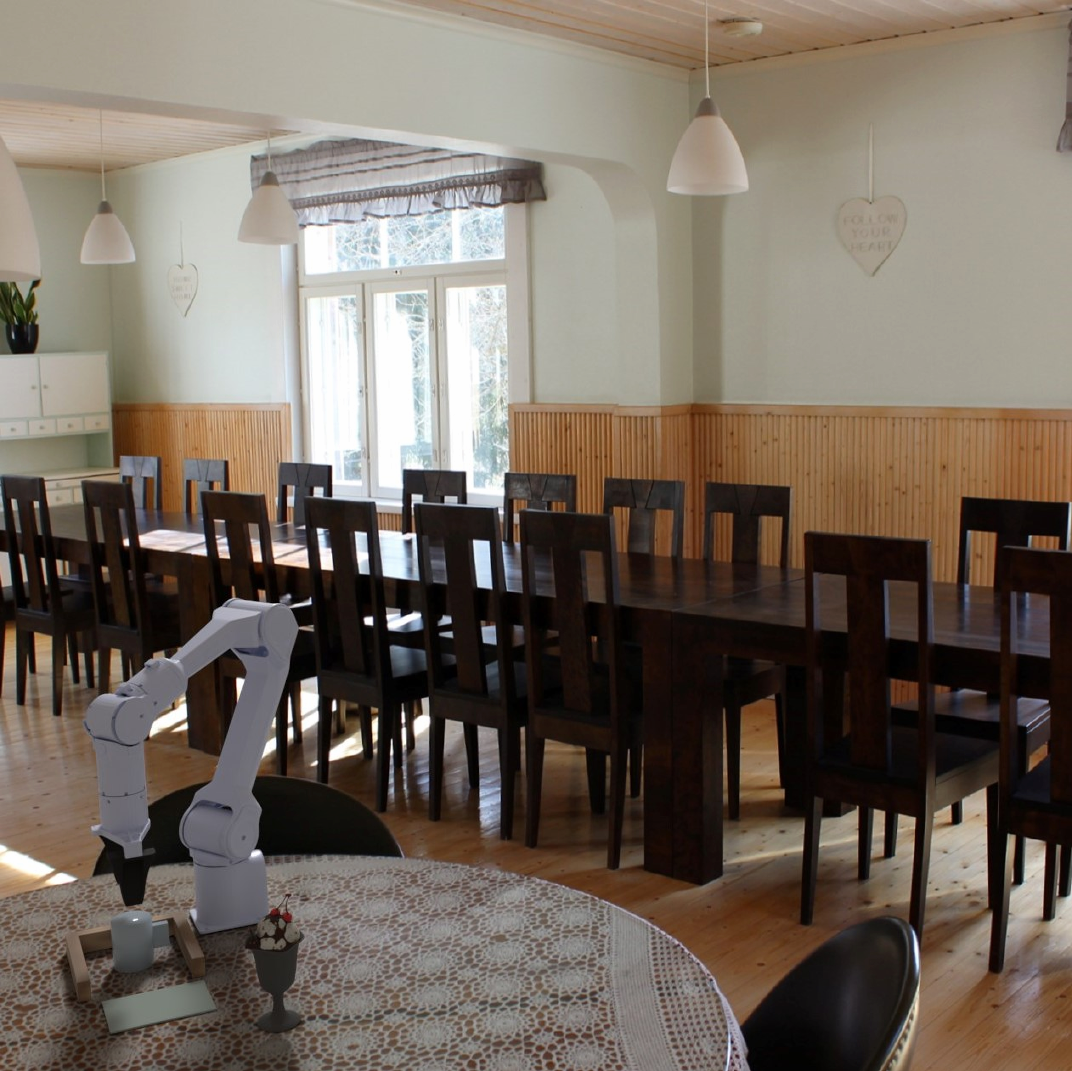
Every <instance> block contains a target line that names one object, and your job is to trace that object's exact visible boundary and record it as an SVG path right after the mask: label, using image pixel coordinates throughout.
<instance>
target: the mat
mask: <svg viewBox="0 0 1072 1071" xmlns="http://www.w3.org/2000/svg"><path fill="white" fill-rule="evenodd" d="M101 1005H102V1008H103V1013H104V1016H105V1020H106V1023H107V1026H108V1030H109V1034H110V1035H112V1034H117V1033H121V1032H126V1031H131V1030H134V1029H135V1030H136V1029H140V1028H143V1027H147V1026H148V1027H149V1026H151V1025H156V1024H162V1023H166V1022H169V1021H176V1020H179V1019H183V1018H188V1017H192V1016H197V1015H200V1014H206V1013H209V1012H213V1011H217V1009H218V1008H217V1006H216V1004H215V1001H214V999H213V997H212V995H211V992H210V991H209V989H208V986H207V984H206V982H205V980H204V979H201V980H195V981H191V982H187V983H186V982H185V983H182V984H177V985H172V986H168V987H165V988H164V987H163V988H160V989H154V990H150V991H145V992H141V993H137V994H136V993H135V994H132V995H127V996H122V997H118V998H112V999H108V1000H103V1001H101Z"/></svg>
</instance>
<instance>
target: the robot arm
mask: <svg viewBox="0 0 1072 1071" xmlns="http://www.w3.org/2000/svg"><path fill="white" fill-rule="evenodd" d="M299 630H300V628H299V625H298V622H297V620H296V617H295V615H294V613H293V611H292V609H291V608H290V607H289V606H288V605H287V604H284V603H270V602H263V601H262V602H261V601H254V600H244V599H242V598H239V597H233V598H230V599H228V600H227V601H225V602H224V603H223V604H222V606H220V607H217V608H216V609H214V610H213V613H212V618H211V620H210V621H209V622H208V623H207V624H206V625H205V626H204V627H202V629H200V630H199V631H198V632H197V633H196V634H195V635H194V636H193V637H192V638H191V639H190V640H188V641H187V642H186V643H185V645H183V646H182V647H181V648H180V649H179V650H178V651H176V653H175V654H174V655H172V656H171V657H170V658H166V657H156V658H150V659H148V660H147V661H146V662H144V664H143V665H144V668H142V670H140V671H139V672H137V673H136V674H135V675H134V676H132V677H131V678H130V679H129V680H128V681H126V682H121V683H120V684H119V685H118V686H117V689H116V690H115V691H114V692H113V693H104V694H101V695H99V696H97V697H96V698H94V699H93V701H92V702H91V703H90V704H89V706H88V708H87V710H86V713H85V719H83V720H82V721H81V722H82V728H83V729H84V732H85V733H86V735H87V736H88V737H89V738H90V739H91V742H92V743H91V744H92V750H94V752H95V762H96V763H95V764H96V774H97V775H96V777H97V792H98V801H99V802H98V805H99V818H100V820H99V821H100V824H96V825H91V827H90V833H91V835H92V836H93V837H96V836H98V837H99V838H100V840H101V841H102V842H103V845H104V846H105V848H106V851H107V852H106V853H105V854H106V855H105V856H106V858H107V861H108V863H109V865H110V866H111V869H112V873H113V877H114V879H115V882H116V885H118V886H119V891H120V894H121V898H122V900H123V903H124V906H125V907H126V908H127V907H134V906H138V905H142V904H143V903H144V900H145V899H144V898H145V894H146V888H147V887H146V886H147V882H148V881H147V880H148V875H149V872H150V868H151V866H152V863H153V861H155V860H154V859H155V857H156V849H155V848H154V847H151V848H145V849H144V848H143V844H142V842H143V840H144V838H145V837H146V835H147V833H149V832H148V831H149V830H150V828H151V819H150V818H149V809H148V808H149V807H148V805H149V804H148V794H147V793H148V790H147V778H146V765H145V764H146V762H145V746H144V740H146V739H147V738H148V736H149V734H150V732H151V729H152V728H153V724H154V722H155V721H156V720H157V719H158V716H159V715H160V714H161V713H162V712H164V711H165V710H166V709H167V708H168V707H169V706H171V705H172V704H173V703H175V701H177V700H178V699H179V698H180V697H182V695H183V694H185V693H186V692H187V690H188V681H189V678H190V677H192V676H193V675H195V674H197V672H199V671H201V670H202V669H203V668H204V667H206V666H208V665H209V664H210V663H212V662H213V661H215V660H216V659H218V657H220V656H221V655H223V654H224V653H225V652H227V651H228V650H229V649H230V650H231V651H232V652H233V653H234V654H235V655H236V656H237V658H238V659H239V660H240V661H241V662H242V664H243V666H244V669H245V670H246V675H245V677H244V680H243V684H242V687H241V690H240V693H239V696H238V699H237V703H236V705H235V709H234V711H233V715H232V718H231V721H230V724H229V728H228V732H227V733H226V737H225V740H224V744H223V746H222V750H221V753H220V755H219V760H218V762H217V765H216V768H215V771H214V774H213V777H212V780H211V782H209V783H208V784H206V785H205V786H203V787H201V788H200V789H198V790H197V791H196V792H195V794H194V796H193V799H192V801H191V804H190V806H189V807H188V808H187V809H186V811H185V812H184V814H183V815H182V818H181V819H180V822H179V830H178V833H179V834H178V835H179V839H180V841H181V843H182V844H183V845H184V846H185V847H186V848H187V849H188V850H189V857H192V859H193V861H192V862H193V875H194V896H195V908H191V909H190V910H189V915H190V917H191V919H192V921H193V923H194V926H195V927H196V930H197V931H198V934H200V935H205V934H210V933H216V932H219V931H220V932H221V931H226V930H230V929H231V930H232V929H235V928H240V927H246V926H251V925H255V924H256V925H257V924H258V923H259V922H260V921H261V919H262V918H263V917H264V916H266V915H268V914H270V913H269V912H270V911H269V895H268V894H269V893H268V878H267V876H268V875H267V868H266V861H265V857H264V855H263V854H264V853H263V852H262V850H261V849H255V848H256V846H257V844H258V840H259V836H260V834H259V833H260V830H259V829H260V828H259V827H260V826H259V823H260V817H261V815H262V811H263V809H262V807H261V806H260V804H259V802H258V801H257V799H256V797H255V796H254V795H253V792H252V790H253V788H254V784H255V780H256V778H257V774H258V771H259V767H260V765H261V761H262V758H263V756H264V752H265V748H266V745H267V743H268V738H269V735H270V732H271V728H272V726H273V723H274V719H275V716H276V713H277V709H278V707H279V704H280V701H281V698H282V694H283V690H284V688H285V684H286V680H287V678H288V675H289V670H290V664H291V663H290V661H291V656H292V652H293V648H294V645H295V643H296V639H297V636H298V632H299ZM222 807H229V808H231V810H230V809H224V808H222Z"/></svg>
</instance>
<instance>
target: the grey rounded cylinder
mask: <svg viewBox="0 0 1072 1071" xmlns="http://www.w3.org/2000/svg"><path fill="white" fill-rule="evenodd" d="M152 917H153V915H152V913H151V912H149V911H146V910H129V911H125V912H122V913H119V914H117V915H114V916H113V917H112V918H111V919H110V925H111V935H112V948H111V949H112V960H113V969H114V970H115V971H116V972H118V973H122V974H132V973H133V974H134V973H138V972H142V971H145V970H147V969H149V968H151V967H152V966H153V965H155V961H156V960H155V959H156V958H155V949H158V948H163V947H167V946H169V947H170V945H171V944H170V936H169V928H168V922H167V920H165V921H160V922H155V923H152Z"/></svg>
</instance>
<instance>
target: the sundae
mask: <svg viewBox="0 0 1072 1071" xmlns="http://www.w3.org/2000/svg"><path fill="white" fill-rule="evenodd" d="M290 897H292V893H285V896H284V898H283V900H282V901H281V903H280V904H279V905H278V906H277V907H274V908H272V909H271V910H270V911H269V912H270V913H269V914H268V915H266V916H264V917H263V918H262V919H261V921H260V922H259V923H257V927H256V931H253V929H252V928H251V927H250V926H247V931H248V933H249V934H248V936H246V939H245V943H244V949H245V950H249V951H251V952H252V955H253V959H254V965H255V969H256V976H257V979H258V984H259V986H260V988H261V989H263V991H264V992H266V993H267V994H270V995H271V996H272V1010H271V1011H268V1012H266V1013H265V1014H262V1015H261V1017H260V1018H259V1019H258V1021H257V1024H256V1025H257V1026H258V1028H259V1029H261V1030H263V1032H267V1033H281V1032H286V1031H289V1030H292V1029H293V1028H295V1027H297V1026H298V1025H299V1024H300V1022H301V1019H302V1016H301V1015H300V1013H299V1012H297V1011H295V1010H293V1009H291V1010H290V1009H286V1007H285V1003H284V994H285V992H287V991H288V990H289V989H291V987H292V985H293V984H294V982H295V981H296V980H295V979H296V975H297V965H298V954H299V947H300V946H299V945H300V944H301V942H303V941H304V940H305V935H304V932H302V931H301V930H300V929H299V927H298V926H297V923H295V922H294V921H292V919H293V914H292V913H291V912H289V910H288V900H289V898H290ZM286 898H287V899H286ZM285 900H286V901H285ZM284 902H285V912H283V913H282V914H281V910H280V909H279V908H281V907H282V905H283V904H284Z"/></svg>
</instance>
